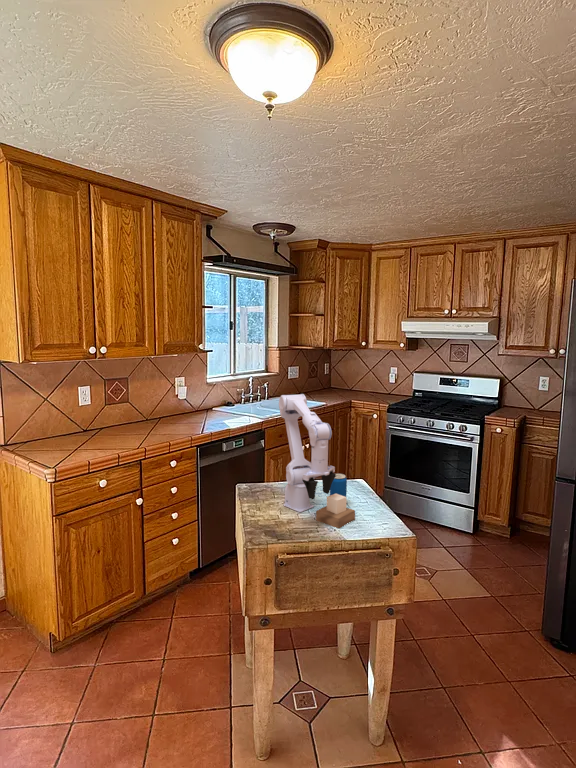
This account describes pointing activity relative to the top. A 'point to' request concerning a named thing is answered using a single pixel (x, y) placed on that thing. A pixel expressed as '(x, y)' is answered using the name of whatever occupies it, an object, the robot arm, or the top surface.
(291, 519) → the top surface
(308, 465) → the robot arm
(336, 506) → the cube
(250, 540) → the top surface
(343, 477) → the beverage can
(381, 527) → the top surface
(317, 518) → the walnut box
